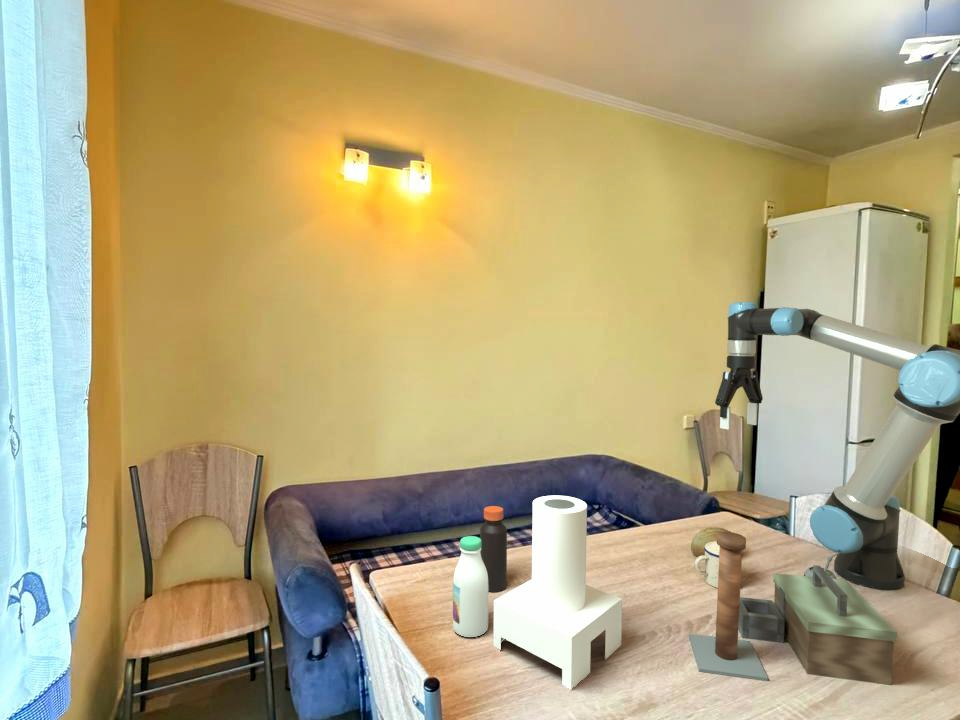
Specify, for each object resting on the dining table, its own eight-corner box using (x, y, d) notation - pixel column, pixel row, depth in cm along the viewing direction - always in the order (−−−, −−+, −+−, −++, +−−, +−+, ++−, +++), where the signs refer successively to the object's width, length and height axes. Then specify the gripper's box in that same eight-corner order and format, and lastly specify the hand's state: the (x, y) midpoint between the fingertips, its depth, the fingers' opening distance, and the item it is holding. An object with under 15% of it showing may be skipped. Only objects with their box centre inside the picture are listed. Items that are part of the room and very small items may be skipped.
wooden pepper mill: (736, 648, 108) (742, 533, 106) (743, 664, 103) (749, 543, 101) (709, 644, 109) (714, 530, 107) (714, 660, 104) (720, 540, 102)
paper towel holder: (493, 647, 109) (494, 504, 107) (547, 612, 122) (548, 484, 121) (571, 690, 96) (573, 528, 94) (621, 645, 110) (624, 503, 108)
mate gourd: (807, 593, 131) (809, 534, 131) (844, 605, 126) (847, 543, 125) (798, 604, 126) (800, 542, 125) (837, 617, 121) (839, 553, 120)
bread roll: (751, 561, 150) (752, 533, 149) (702, 565, 147) (703, 537, 147) (729, 547, 159) (730, 521, 159) (683, 550, 157) (684, 524, 156)
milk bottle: (492, 623, 118) (493, 535, 116) (481, 642, 110) (481, 548, 109) (460, 616, 120) (460, 530, 119) (447, 635, 113) (447, 543, 112)
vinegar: (475, 589, 133) (476, 511, 131) (485, 578, 139) (486, 503, 138) (501, 595, 130) (501, 515, 129) (510, 582, 136) (510, 506, 135)
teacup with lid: (728, 573, 142) (730, 531, 141) (749, 590, 133) (751, 545, 132) (686, 575, 141) (687, 533, 140) (704, 592, 132) (705, 547, 131)
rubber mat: (749, 643, 110) (749, 641, 110) (767, 681, 99) (767, 677, 98) (688, 636, 113) (688, 633, 113) (698, 671, 101) (699, 668, 101)
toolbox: (843, 625, 117) (846, 561, 116) (894, 686, 97) (898, 609, 96) (730, 612, 122) (732, 551, 122) (756, 667, 102) (758, 595, 101)
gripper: (752, 353, 165) (750, 420, 167) (703, 355, 152) (701, 428, 153) (777, 354, 159) (774, 424, 160) (727, 356, 146) (725, 432, 147)
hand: (738, 426), depth 157 cm, fingers open, 13 cm apart
